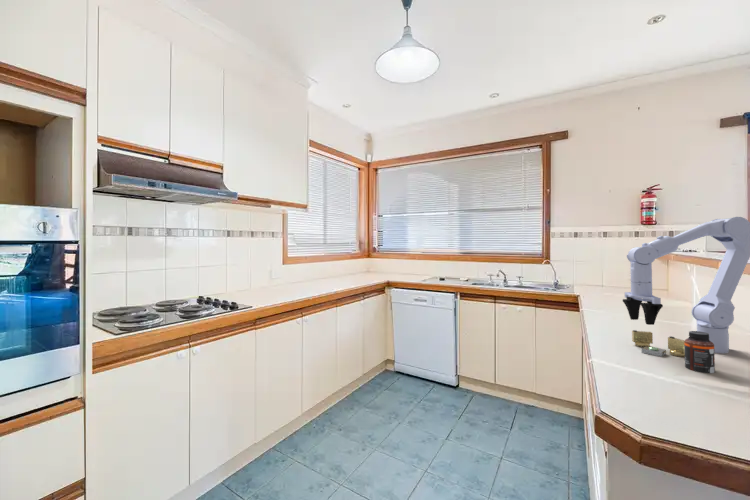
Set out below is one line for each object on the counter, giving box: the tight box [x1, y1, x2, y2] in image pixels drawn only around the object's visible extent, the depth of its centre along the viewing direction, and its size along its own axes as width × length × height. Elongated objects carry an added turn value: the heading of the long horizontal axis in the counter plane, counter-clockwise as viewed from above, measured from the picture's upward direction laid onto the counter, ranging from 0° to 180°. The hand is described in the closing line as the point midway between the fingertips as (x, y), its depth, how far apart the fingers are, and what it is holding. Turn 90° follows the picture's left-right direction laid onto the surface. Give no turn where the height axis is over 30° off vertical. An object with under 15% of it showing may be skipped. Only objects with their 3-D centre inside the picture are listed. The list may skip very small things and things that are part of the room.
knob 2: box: [667, 335, 685, 358], centre depth 104 cm, size 5×4×5 cm
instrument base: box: [641, 346, 667, 358], centre depth 108 cm, size 12×16×3 cm
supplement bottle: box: [684, 330, 716, 374], centre depth 92 cm, size 6×6×11 cm
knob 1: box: [631, 329, 654, 348], centre depth 114 cm, size 5×4×5 cm
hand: (641, 321), depth 114 cm, fingers open, 7 cm apart
